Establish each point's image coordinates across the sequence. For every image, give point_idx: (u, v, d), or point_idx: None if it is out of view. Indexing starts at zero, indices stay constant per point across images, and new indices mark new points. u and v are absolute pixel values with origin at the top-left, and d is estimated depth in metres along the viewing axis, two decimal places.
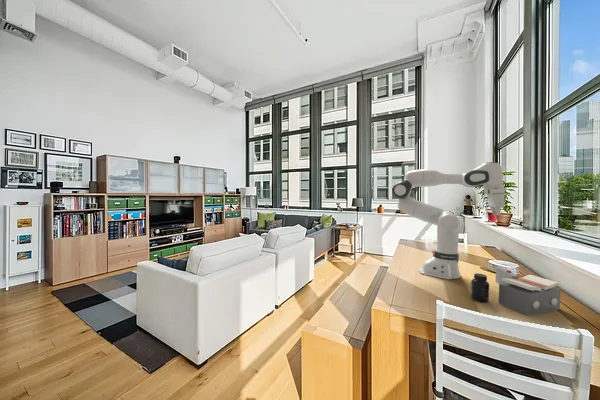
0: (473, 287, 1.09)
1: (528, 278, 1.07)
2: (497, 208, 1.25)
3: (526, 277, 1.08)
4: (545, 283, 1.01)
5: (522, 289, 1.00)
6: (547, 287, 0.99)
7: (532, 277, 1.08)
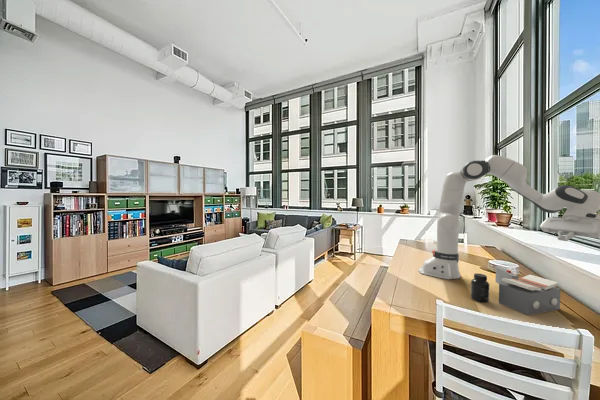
0: (473, 287, 1.09)
1: (528, 278, 1.07)
2: (573, 234, 1.06)
3: (526, 277, 1.08)
4: (545, 283, 1.01)
5: (522, 289, 1.00)
6: (547, 287, 0.99)
7: (532, 277, 1.08)
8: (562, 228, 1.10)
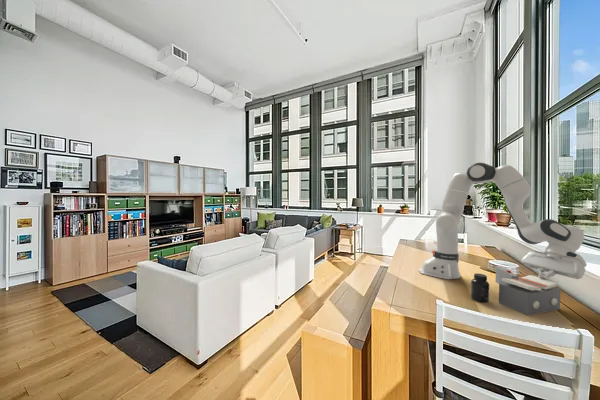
0: (473, 287, 1.09)
1: (528, 278, 1.07)
2: (553, 272, 1.03)
3: (526, 277, 1.08)
4: (545, 283, 1.01)
5: (522, 289, 1.00)
6: (547, 287, 0.99)
7: (532, 277, 1.08)
8: (543, 265, 1.07)
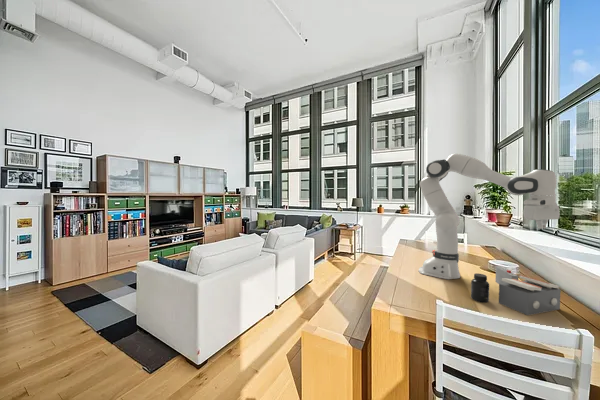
0: (473, 287, 1.09)
1: None
2: (537, 220, 1.17)
3: None
4: None
5: (522, 289, 1.00)
6: (548, 284, 0.99)
7: None
8: None
